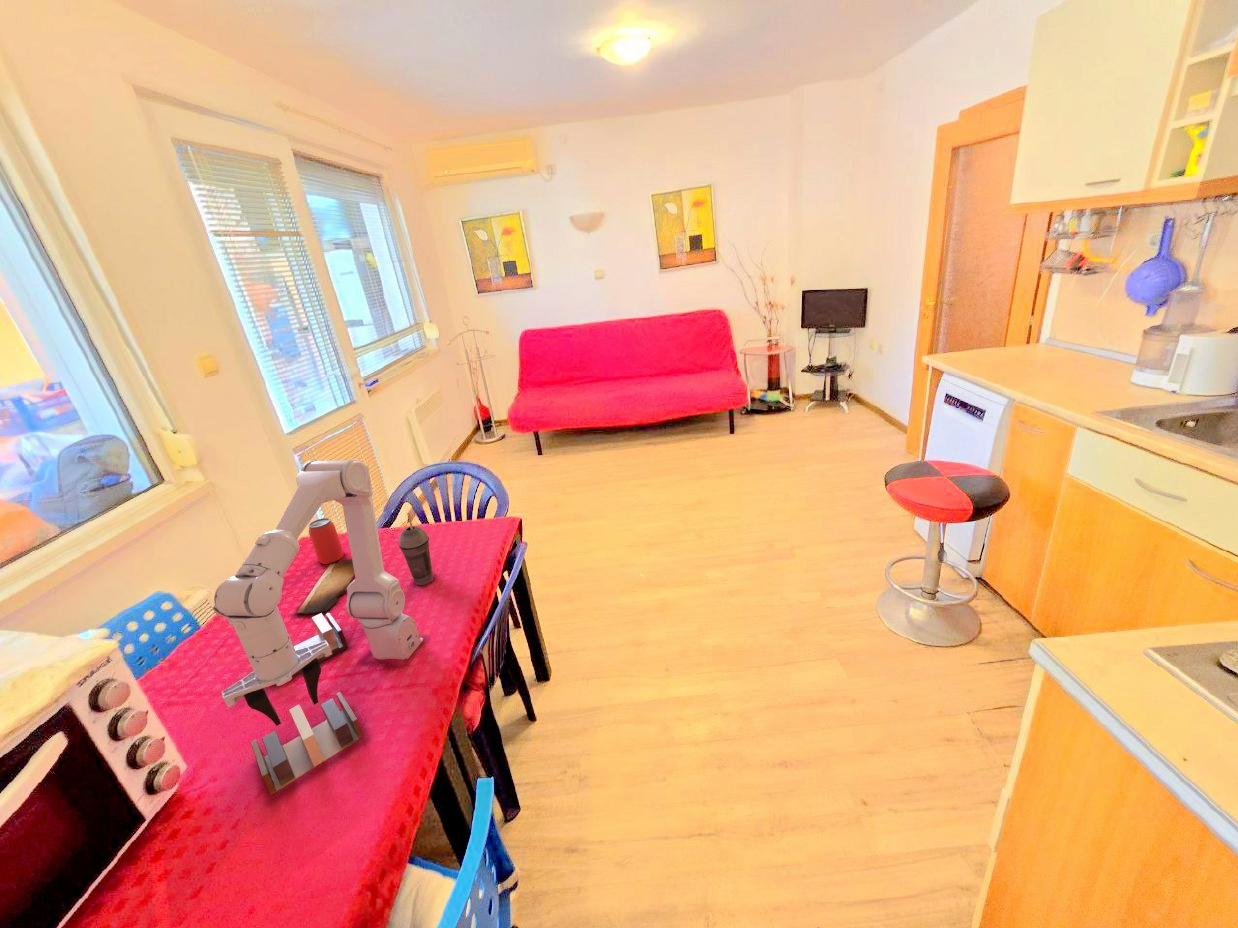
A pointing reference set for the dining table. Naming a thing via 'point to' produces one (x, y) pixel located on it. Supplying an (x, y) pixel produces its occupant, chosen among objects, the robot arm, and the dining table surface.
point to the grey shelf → (293, 755)
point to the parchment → (329, 587)
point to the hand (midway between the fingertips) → (296, 710)
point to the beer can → (325, 541)
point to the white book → (307, 735)
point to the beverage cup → (417, 553)
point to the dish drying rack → (325, 636)
